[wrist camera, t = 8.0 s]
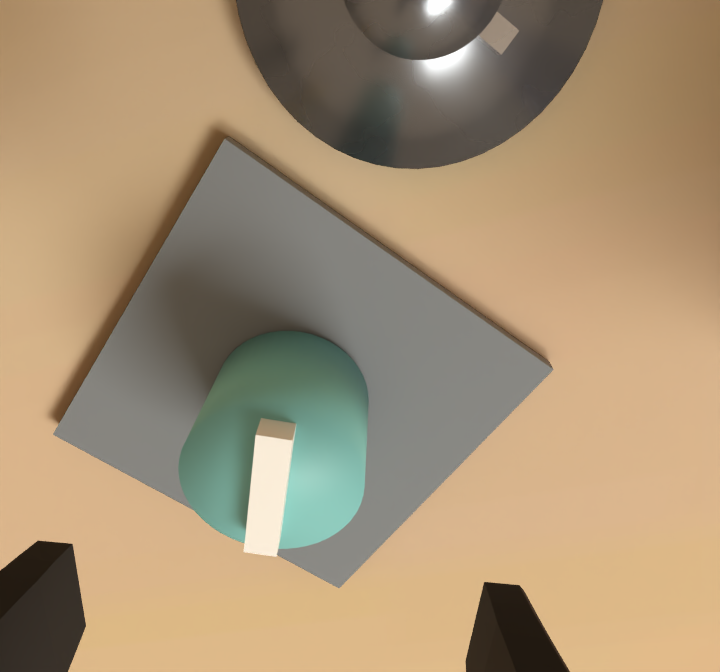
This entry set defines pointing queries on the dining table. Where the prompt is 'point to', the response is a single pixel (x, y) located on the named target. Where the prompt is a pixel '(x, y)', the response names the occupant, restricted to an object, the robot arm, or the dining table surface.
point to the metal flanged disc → (416, 70)
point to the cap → (279, 444)
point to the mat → (309, 315)
